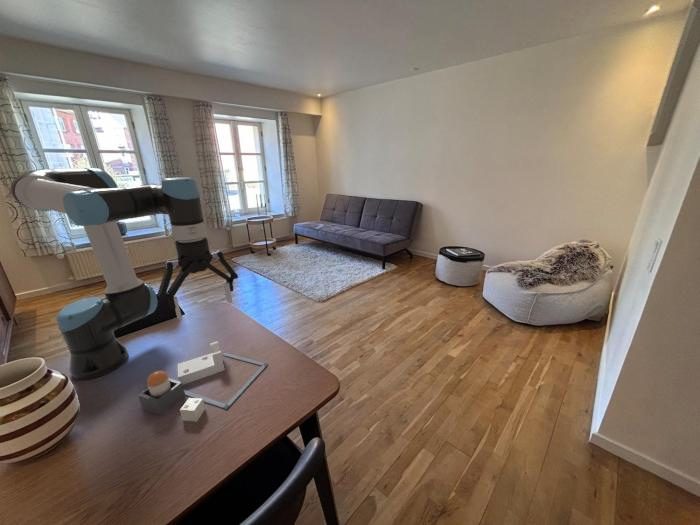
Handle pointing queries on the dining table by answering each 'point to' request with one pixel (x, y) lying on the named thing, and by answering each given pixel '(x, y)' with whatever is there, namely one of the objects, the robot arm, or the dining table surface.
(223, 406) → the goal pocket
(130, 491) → the dining table surface
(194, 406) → the die
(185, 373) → the bracket
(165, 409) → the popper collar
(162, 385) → the orange and white capsule
